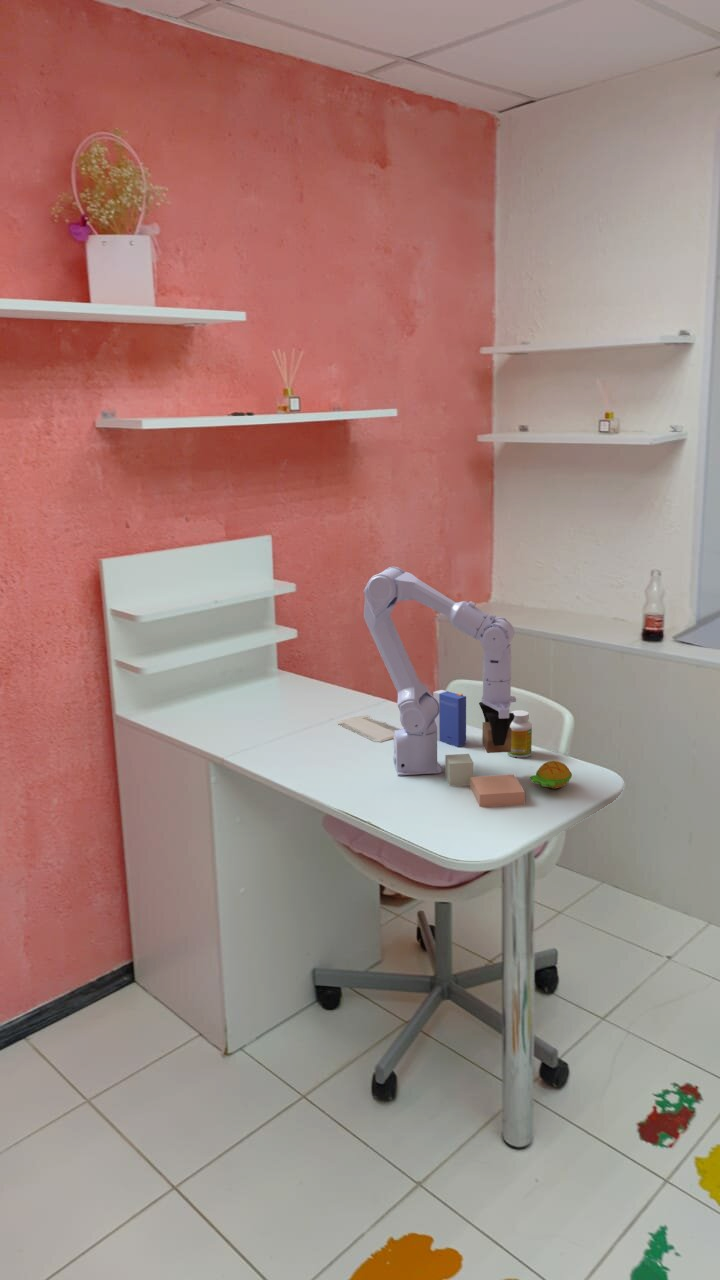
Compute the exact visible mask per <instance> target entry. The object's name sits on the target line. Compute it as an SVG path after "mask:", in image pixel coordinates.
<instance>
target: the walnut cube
mask: <svg viewBox="0 0 720 1280" xmlns="http://www.w3.org/2000/svg"><path fill="white" fill-rule="evenodd" d="M511 733H512V729H511V728H510V727H509V729H508V732H507V737H506V741H505V744H504V745H498V746H495V745H494V743H493V739H492V731H491V726H490V722H485V721H482V733H481V734H482V738H481V741H482V742H481V745H482V746H483V748H484V750H485V752H486V753H487V754H493V753H494V754H496V753H498V754H499V753H507V752H511Z"/></svg>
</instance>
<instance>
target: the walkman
mask: <svg viewBox="0 0 720 1280" xmlns="http://www.w3.org/2000/svg"><path fill="white" fill-rule="evenodd" d="M432 696H434V697H435V698H436V699H437V701H438V703H439V706H440V711H439V714H438V716H437V717H436V718H435V723H436V725H437V742H442V743H445V744H447V745H451V746H453V745H454V746H453V747H456V748H457V747H458V748H459V747H462V746H465V745H467V696H466V695H463V693H460V692H458V693H455V692H452V691H447V690H444V689H439V690H435V691H433V695H432Z"/></svg>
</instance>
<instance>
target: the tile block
mask: <svg viewBox="0 0 720 1280" xmlns="http://www.w3.org/2000/svg"><path fill="white" fill-rule="evenodd" d="M469 788H470V791H471V793H472V795H473V797H474V799H475V800H476V802H477V804H478V806H479V808H483V807H500V806H516V805H517V806H518V805H525V804H526V803H525V800H526V799H525V798H526V797H525V796H526V792H525V790H524V789H523V787H522V785H521V783H520V782H519V781H518V779H517V777H516V776H515V774H499V775H498V774H497V775H483V776H480V775H479V776H473V777H470V785H469Z"/></svg>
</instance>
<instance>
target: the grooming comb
mask: <svg viewBox="0 0 720 1280" xmlns="http://www.w3.org/2000/svg"><path fill="white" fill-rule="evenodd" d="M337 724H338V725H337ZM336 725H337V726H339V725H340V726H339V727H341V726H342V728H344V729H346V730H348V731H350V730H351V731H350V732H353V733H355V734H356V733H357V734H356V735H359V736H361V737H363V738H365V739H368V740H369V741H372V742H374V743H383V742H387V741H391V740H394V731H395V730H401V729H402V728H399V727H396V726H394V725H392V724H389V723H387V722H383V721H381V720H377V719H376V718H373V717H372V716H371V715H367V714H365V715H361V716H360V715H359V716H353V717H350V718H345V719H341V720H339V721H337V722H336Z"/></svg>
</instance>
